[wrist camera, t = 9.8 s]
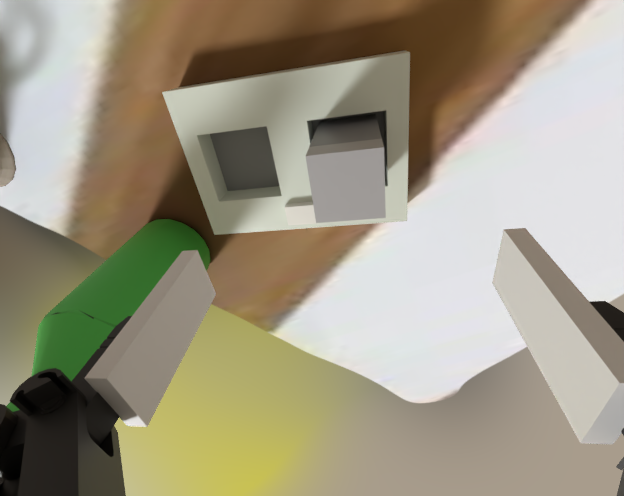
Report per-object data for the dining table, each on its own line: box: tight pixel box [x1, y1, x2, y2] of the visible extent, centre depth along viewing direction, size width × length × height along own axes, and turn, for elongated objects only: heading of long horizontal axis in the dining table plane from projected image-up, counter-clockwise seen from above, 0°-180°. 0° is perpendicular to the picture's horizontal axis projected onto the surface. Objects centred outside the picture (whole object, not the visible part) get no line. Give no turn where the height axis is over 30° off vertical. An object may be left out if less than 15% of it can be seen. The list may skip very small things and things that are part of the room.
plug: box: [306, 114, 386, 223], centre depth 26 cm, size 5×5×10 cm
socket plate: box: [162, 50, 410, 235], centre depth 29 cm, size 14×20×4 cm
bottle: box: [6, 219, 210, 412], centre depth 29 cm, size 9×9×25 cm
